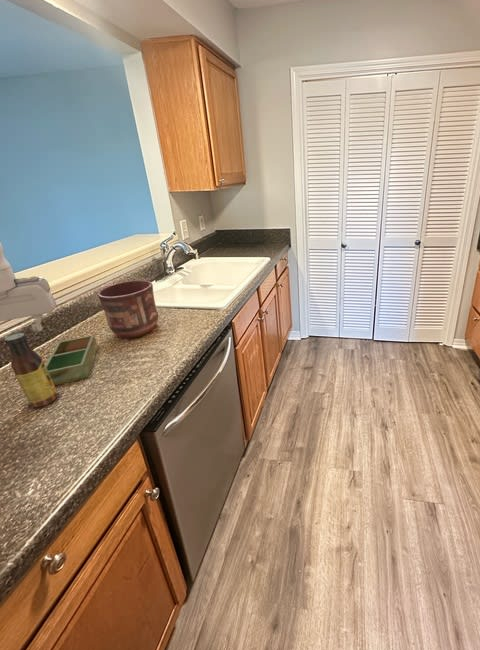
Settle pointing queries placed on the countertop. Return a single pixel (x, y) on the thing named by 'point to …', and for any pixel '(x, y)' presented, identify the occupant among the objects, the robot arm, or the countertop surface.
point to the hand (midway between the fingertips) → (15, 335)
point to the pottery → (130, 308)
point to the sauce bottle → (30, 371)
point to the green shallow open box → (72, 360)
